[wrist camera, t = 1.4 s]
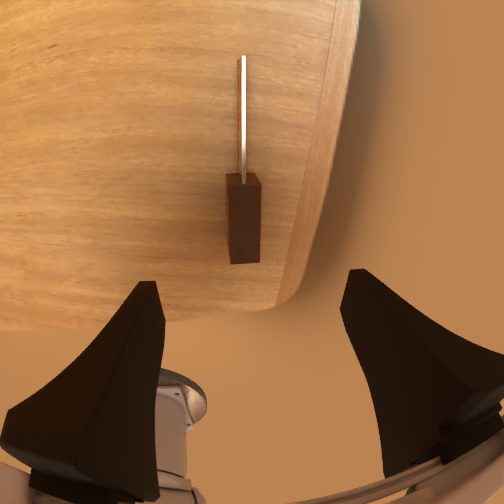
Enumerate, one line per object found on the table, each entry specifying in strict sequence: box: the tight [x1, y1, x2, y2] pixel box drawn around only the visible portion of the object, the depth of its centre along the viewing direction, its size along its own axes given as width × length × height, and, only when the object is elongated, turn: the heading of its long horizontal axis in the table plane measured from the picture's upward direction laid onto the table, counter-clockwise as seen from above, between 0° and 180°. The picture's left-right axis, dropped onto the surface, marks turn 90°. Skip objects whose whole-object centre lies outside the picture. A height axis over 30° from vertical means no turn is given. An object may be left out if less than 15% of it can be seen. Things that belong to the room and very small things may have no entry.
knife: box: [226, 56, 261, 265], centre depth 16 cm, size 12×2×2 cm, turn 0°
